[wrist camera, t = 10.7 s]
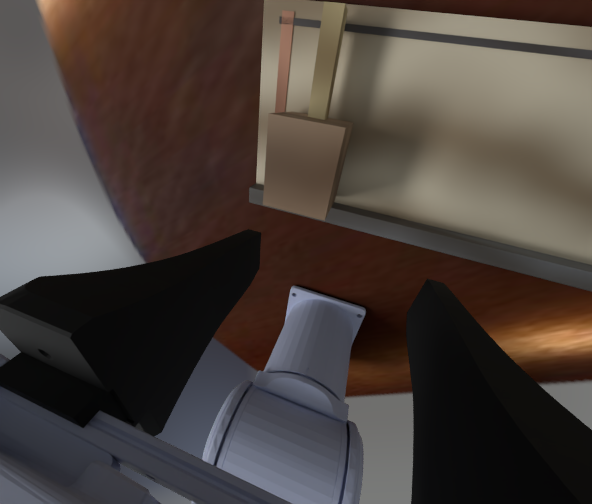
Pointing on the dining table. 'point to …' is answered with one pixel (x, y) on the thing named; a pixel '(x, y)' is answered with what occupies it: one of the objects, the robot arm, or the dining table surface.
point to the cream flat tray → (450, 131)
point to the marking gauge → (310, 135)
